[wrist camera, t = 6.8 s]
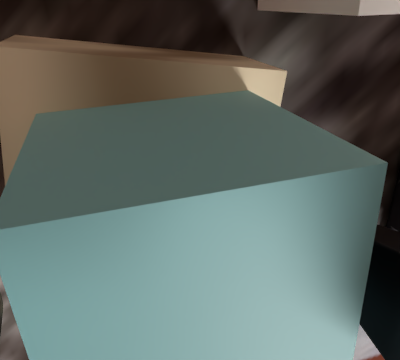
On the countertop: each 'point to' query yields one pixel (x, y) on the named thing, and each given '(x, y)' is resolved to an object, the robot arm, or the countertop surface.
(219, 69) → the maple block
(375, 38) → the countertop surface
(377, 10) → the offwhite cube
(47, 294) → the teal cube
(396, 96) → the countertop surface
